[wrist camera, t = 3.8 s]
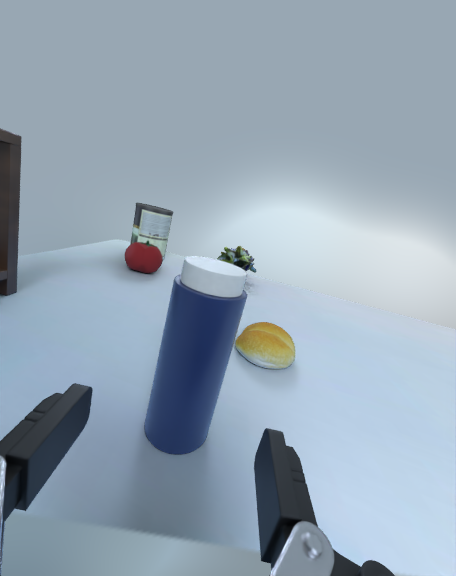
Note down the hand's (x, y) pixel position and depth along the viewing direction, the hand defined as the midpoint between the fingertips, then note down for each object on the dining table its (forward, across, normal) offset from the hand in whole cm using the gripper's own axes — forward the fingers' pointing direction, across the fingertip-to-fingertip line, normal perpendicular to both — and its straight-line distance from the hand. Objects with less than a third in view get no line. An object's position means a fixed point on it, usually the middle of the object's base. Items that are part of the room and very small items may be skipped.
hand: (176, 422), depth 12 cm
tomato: (+49, +18, +8) cm, 53 cm away
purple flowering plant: (+66, -4, +8) cm, 66 cm away
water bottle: (+8, 0, +8) cm, 11 cm away
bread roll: (+24, -9, +8) cm, 27 cm away
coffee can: (+67, +22, +8) cm, 71 cm away
